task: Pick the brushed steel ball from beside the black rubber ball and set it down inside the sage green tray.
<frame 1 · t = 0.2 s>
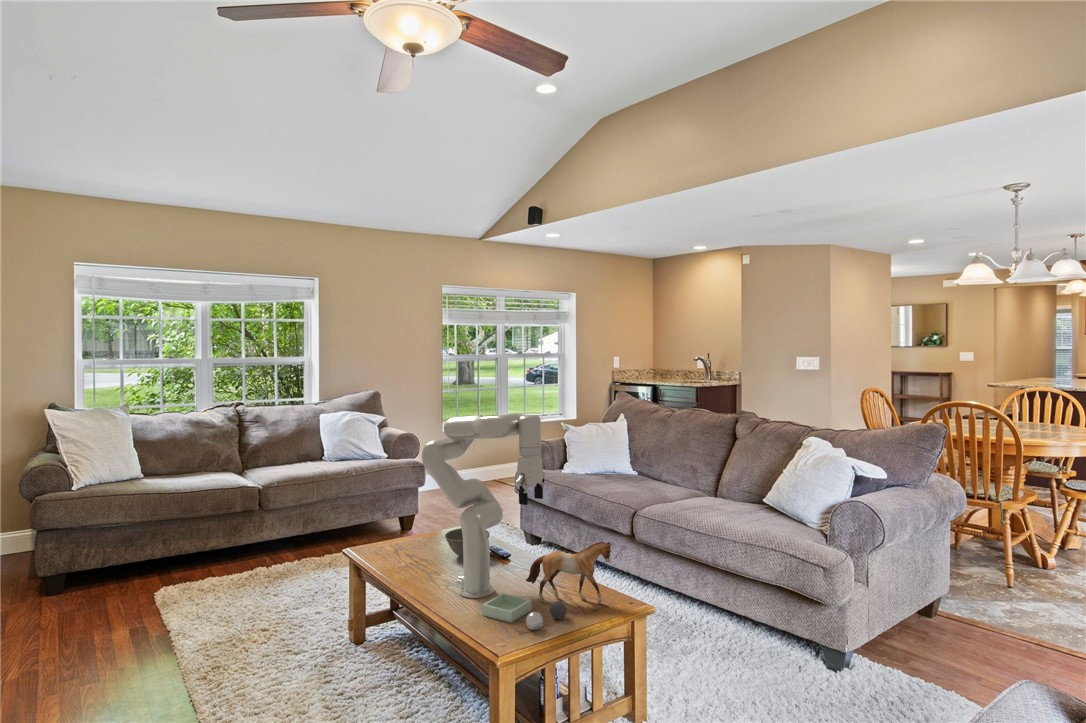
hand: (531, 501, 221), 36 cm above the table, tool pointing down, fingers open, 9 cm apart
horse figurine: (568, 598, 230), on the table
steel ball: (534, 629, 204), on the table
bowl: (467, 557, 275), on the table
tray: (507, 612, 217), on the table
rubber ball: (558, 618, 212), on the table
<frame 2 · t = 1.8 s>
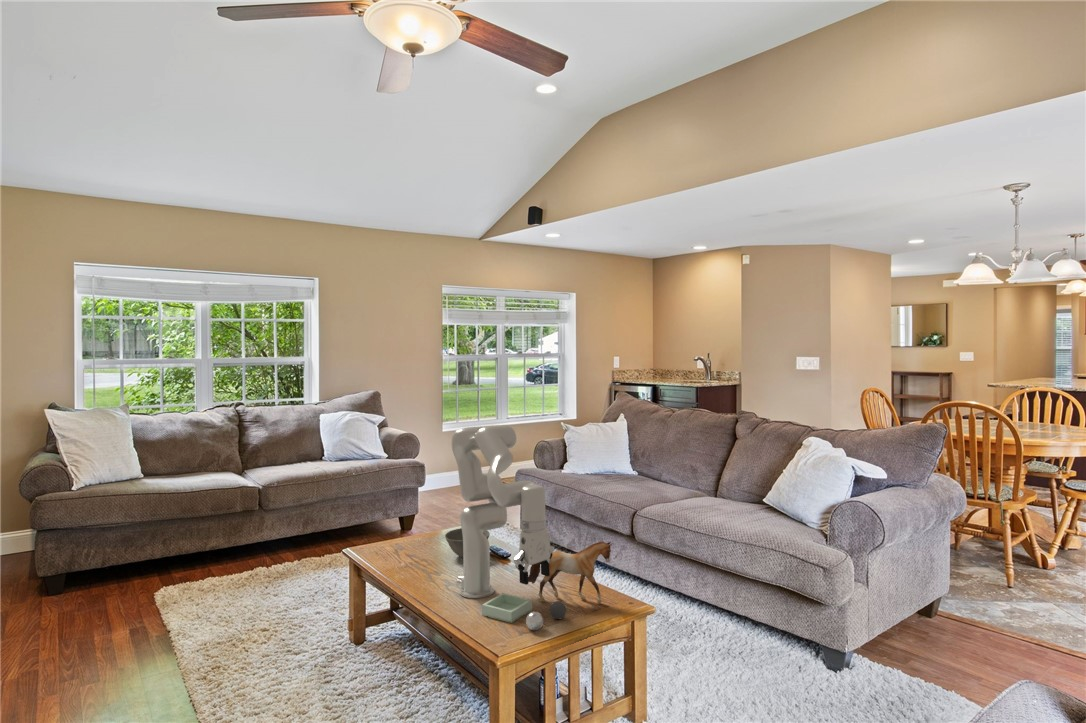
hand: (534, 579, 203), 16 cm above the table, tool pointing down, fingers open, 9 cm apart
nothing on the table moved.
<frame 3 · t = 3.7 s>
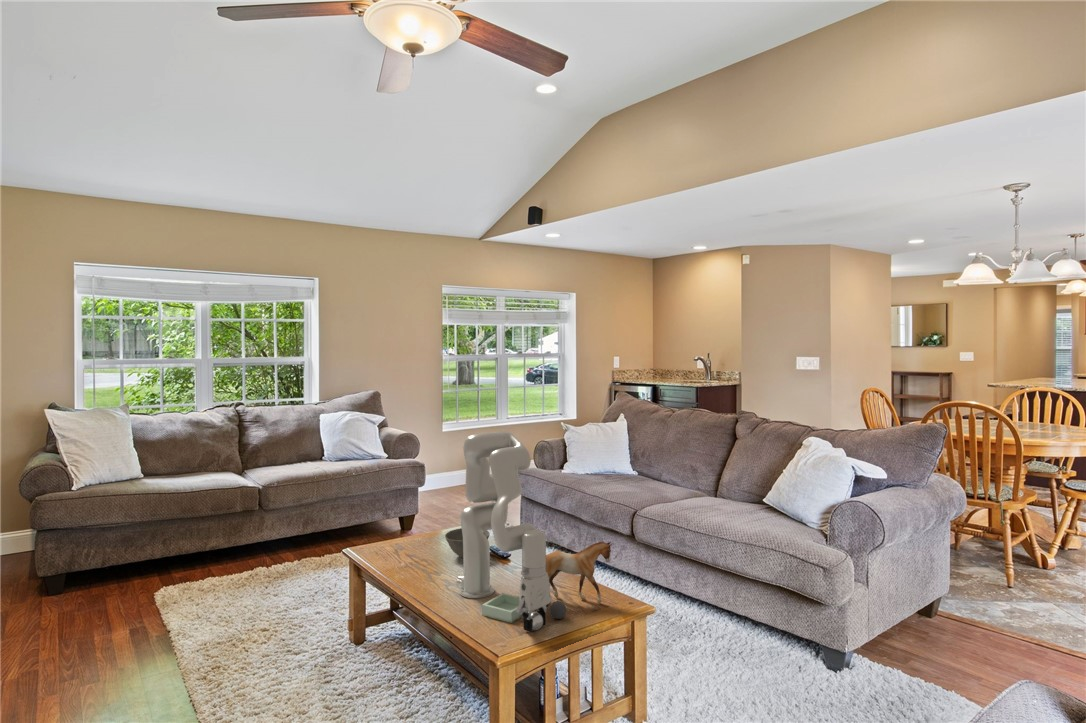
hand: (534, 626, 204), 1 cm above the table, tool pointing down, fingers closed on steel ball, 5 cm apart
steel ball: (534, 629, 204), on the table, touching gripper
everything else where it was.
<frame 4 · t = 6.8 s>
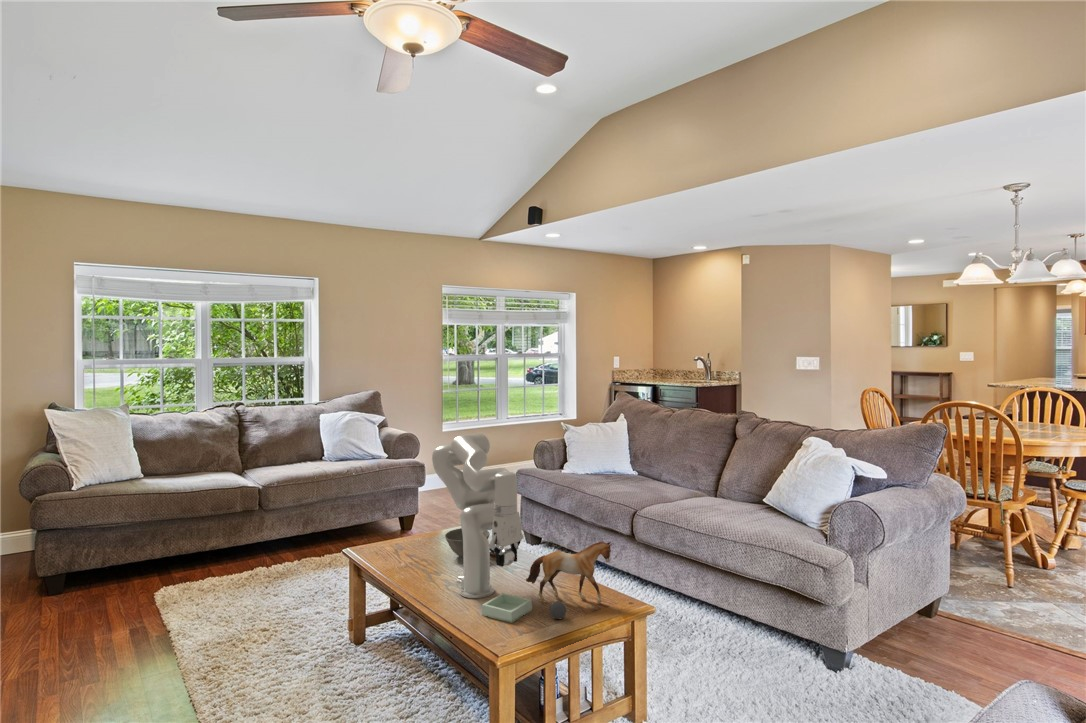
hand: (506, 562, 217), 17 cm above the table, tool pointing down, fingers closed on steel ball, 5 cm apart
steel ball: (506, 565, 217), point 16 cm above the table, touching gripper
everything else where it was.
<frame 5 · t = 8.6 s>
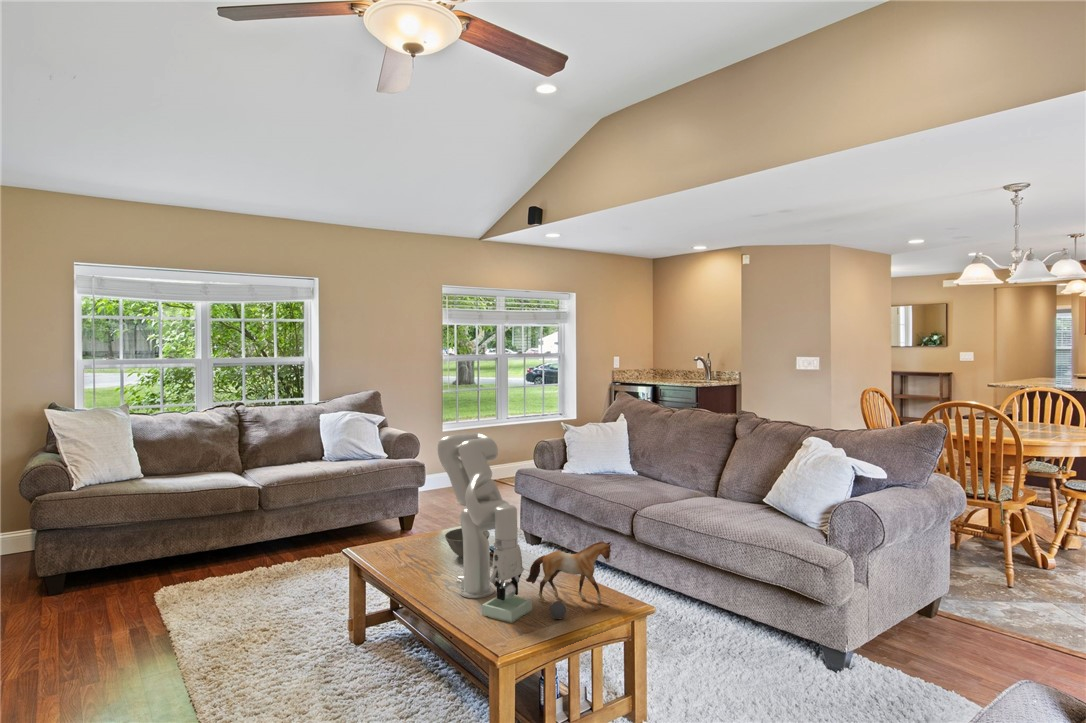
hand: (507, 596, 217), 6 cm above the table, tool pointing down, fingers closed on steel ball, 5 cm apart
steel ball: (507, 598, 217), point 5 cm above the table, touching gripper
everything else where it was.
when the fingers open (3 cm above the table, at t = 10.0 s): steel ball drops 2 cm, resting on tray.
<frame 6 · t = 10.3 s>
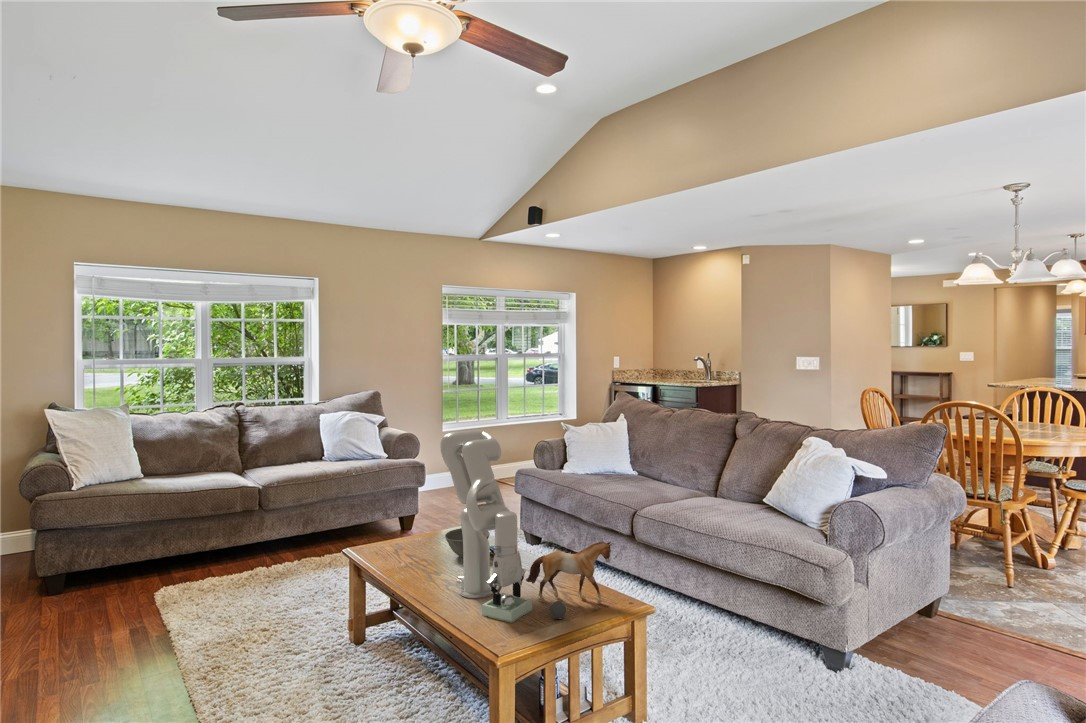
hand: (507, 600, 217), 4 cm above the table, tool pointing down, fingers open, 8 cm apart
steel ball: (507, 610, 217), point 1 cm above the table, touching tray
everything else where it was.
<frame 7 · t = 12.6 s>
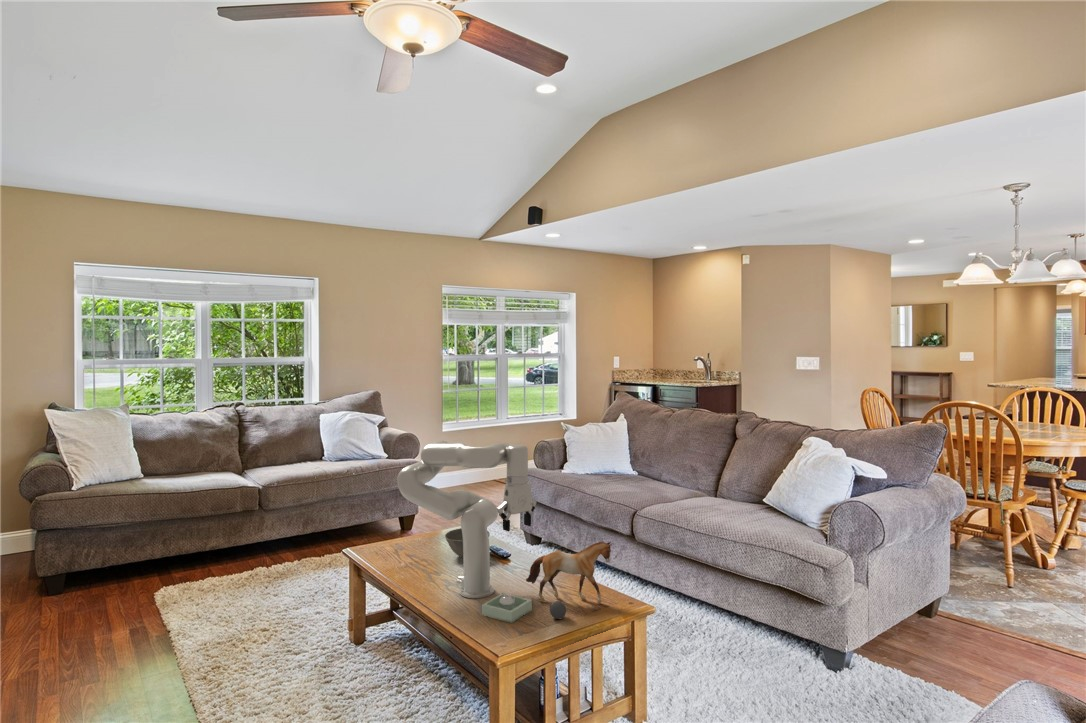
hand: (517, 527, 230), 25 cm above the table, tool pointing down, fingers open, 9 cm apart
nothing on the table moved.
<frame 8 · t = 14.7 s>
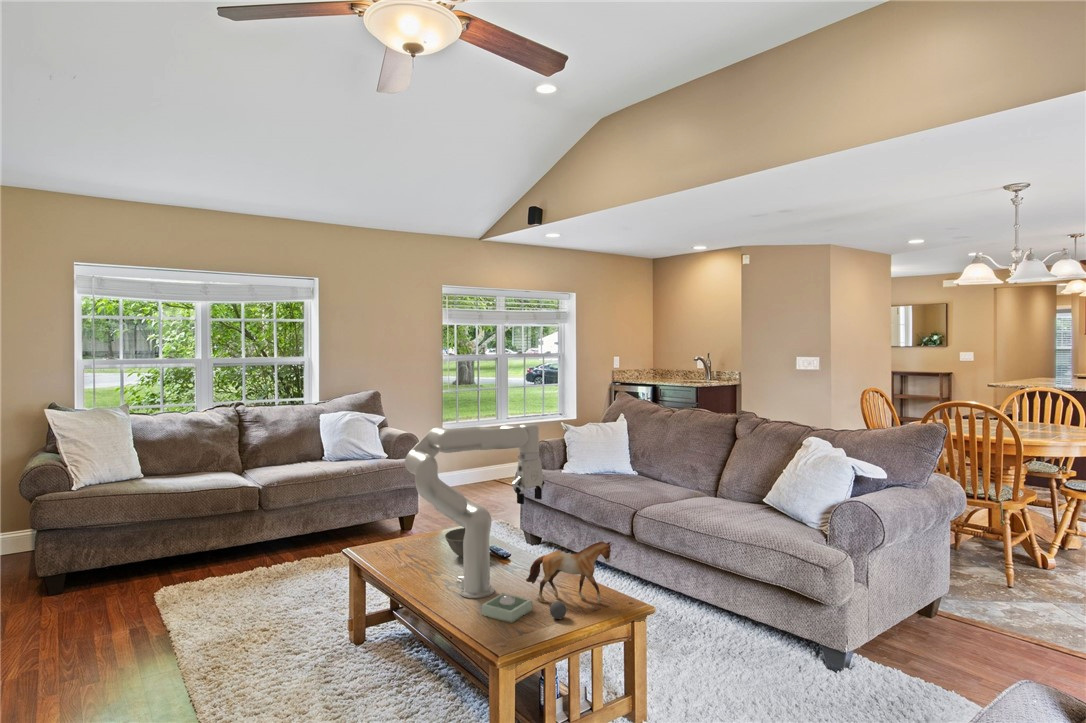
hand: (529, 501, 246), 30 cm above the table, tool pointing down, fingers open, 9 cm apart
nothing on the table moved.
at the end: steel ball inside the target area on the tray (0.0 cm from its centre), point 0.6 cm above the tray's base; the gripper is holding nothing; rubber ball moved 0.0 cm from its start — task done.
